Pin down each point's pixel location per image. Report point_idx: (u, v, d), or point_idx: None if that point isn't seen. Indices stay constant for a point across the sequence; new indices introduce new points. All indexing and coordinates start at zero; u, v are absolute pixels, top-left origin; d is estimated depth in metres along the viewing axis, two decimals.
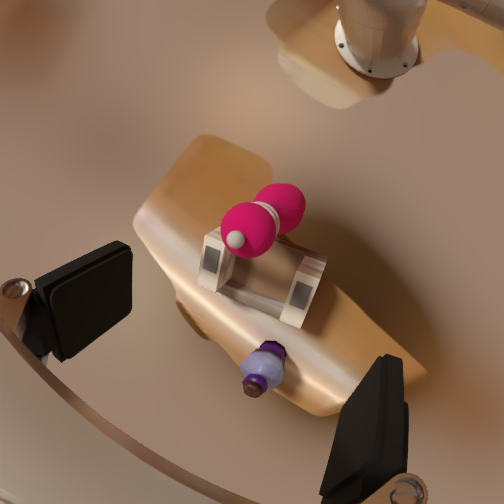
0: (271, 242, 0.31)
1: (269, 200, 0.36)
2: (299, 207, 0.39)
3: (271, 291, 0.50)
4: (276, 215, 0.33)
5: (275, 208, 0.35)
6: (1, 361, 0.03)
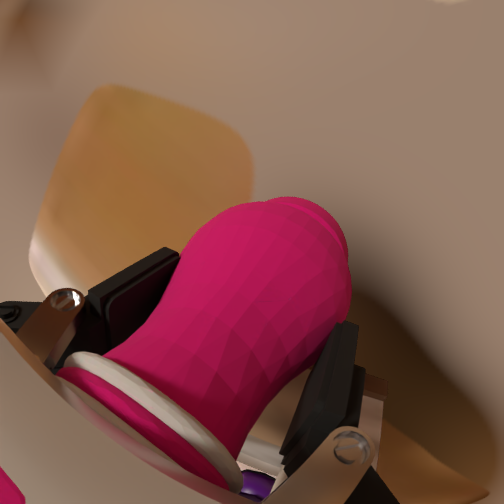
0: None
1: (204, 305, 0.07)
2: (341, 302, 0.10)
3: (253, 429, 0.21)
4: (217, 464, 0.04)
5: (228, 368, 0.06)
6: (1, 361, 0.03)
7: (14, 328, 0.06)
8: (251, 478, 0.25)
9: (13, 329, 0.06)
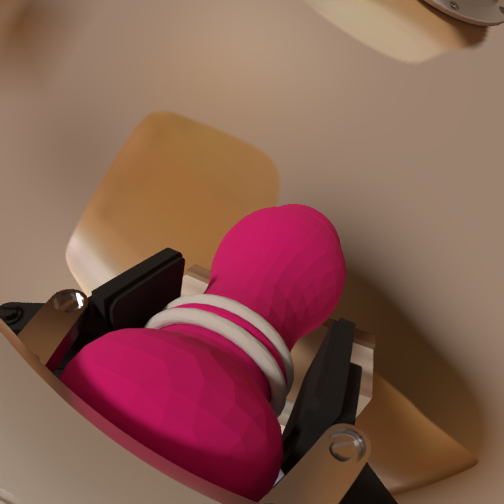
0: None
1: (255, 269, 0.11)
2: (340, 276, 0.14)
3: None
4: (283, 354, 0.08)
5: (277, 305, 0.10)
6: (1, 361, 0.03)
7: (16, 330, 0.06)
8: None
9: (15, 331, 0.06)
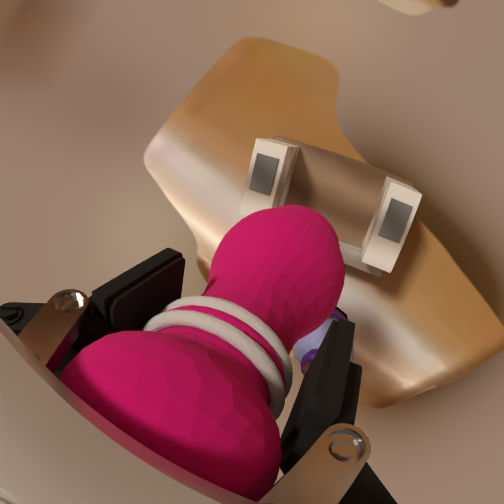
0: None
1: (254, 271, 0.11)
2: (339, 277, 0.14)
3: (338, 230, 0.36)
4: (281, 356, 0.08)
5: (275, 307, 0.10)
6: (1, 361, 0.03)
7: (17, 330, 0.06)
8: None
9: (16, 331, 0.06)
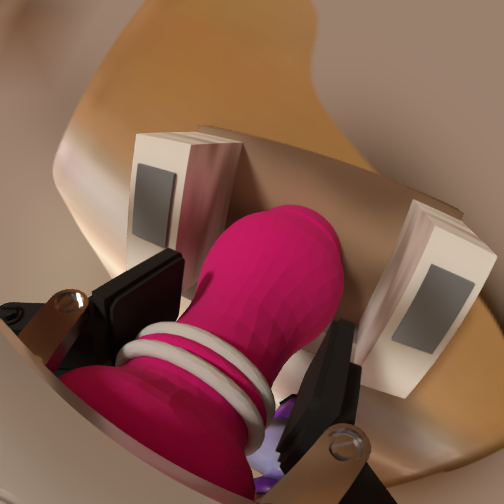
0: None
1: (239, 288, 0.10)
2: (336, 287, 0.13)
3: None
4: (261, 389, 0.07)
5: (260, 330, 0.09)
6: (1, 361, 0.03)
7: (17, 330, 0.06)
8: None
9: (16, 331, 0.06)
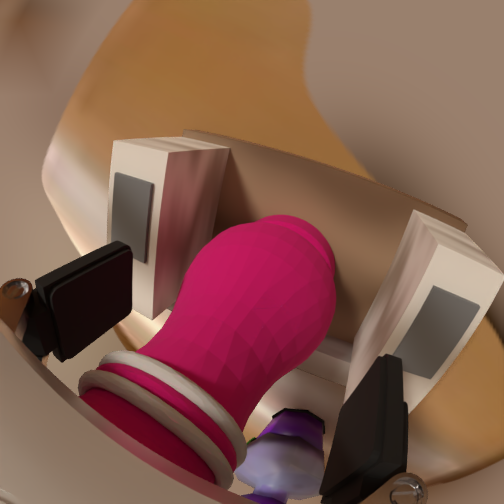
0: None
1: (213, 312, 0.09)
2: (326, 308, 0.12)
3: None
4: (228, 432, 0.06)
5: (234, 361, 0.08)
6: (1, 361, 0.03)
7: None
8: (291, 418, 0.23)
9: None
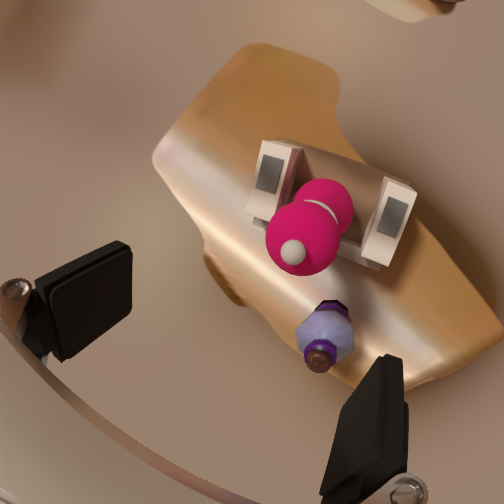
0: (335, 255, 0.22)
1: (319, 198, 0.28)
2: (351, 207, 0.31)
3: None
4: (334, 218, 0.25)
5: None
6: (1, 361, 0.03)
7: None
8: (328, 303, 0.42)
9: None
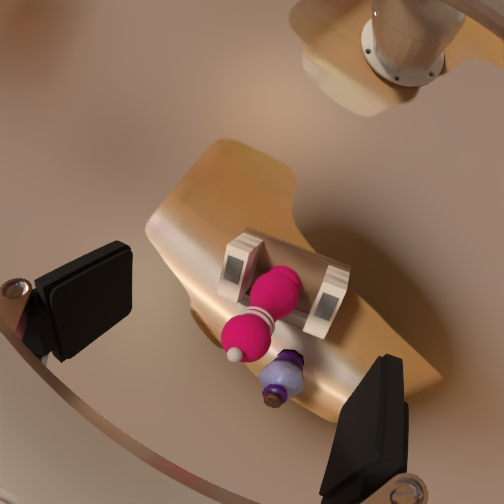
0: (266, 351, 0.33)
1: (265, 298, 0.39)
2: (294, 298, 0.42)
3: None
4: (271, 320, 0.36)
5: (271, 308, 0.38)
6: (1, 361, 0.03)
7: None
8: (287, 353, 0.53)
9: None
